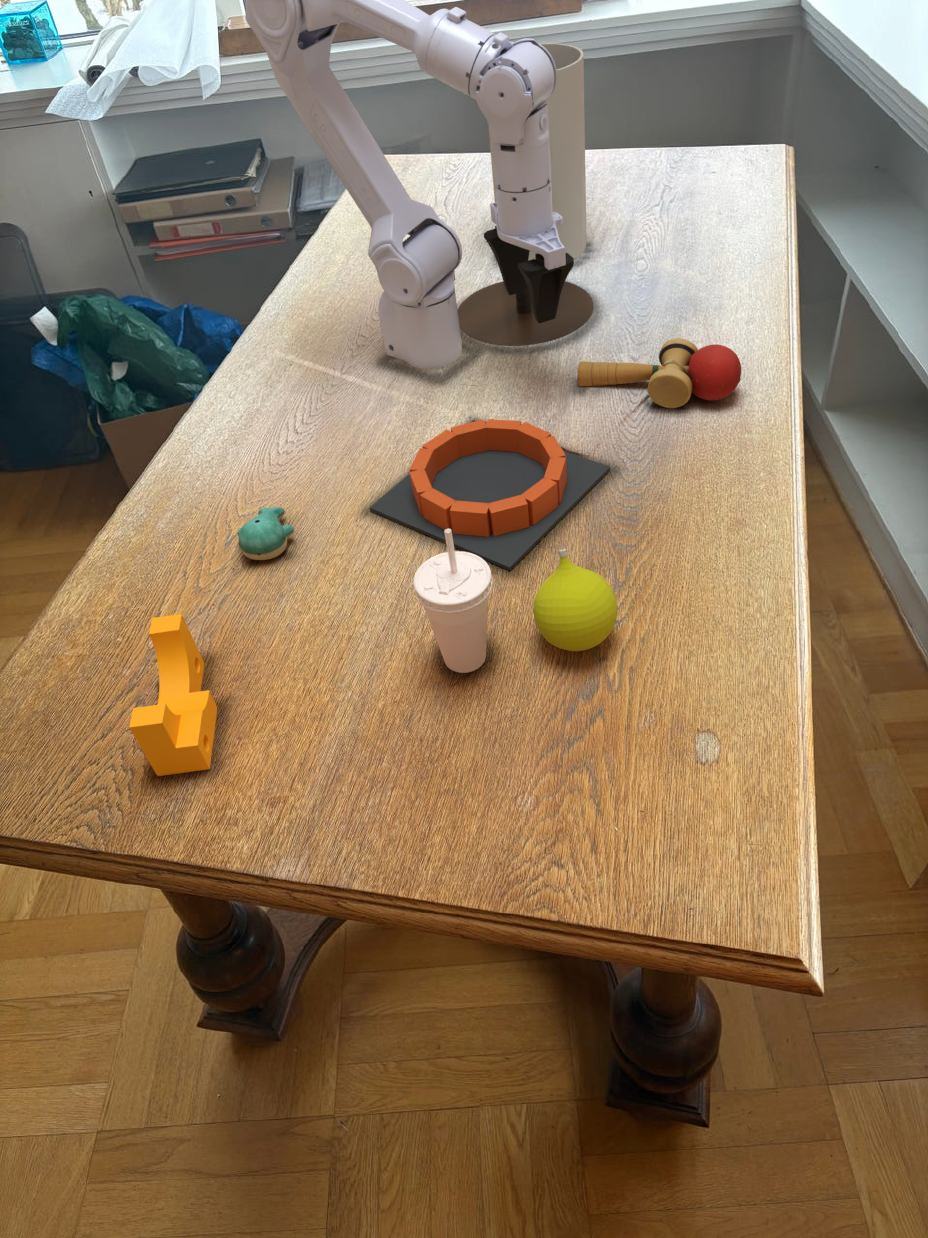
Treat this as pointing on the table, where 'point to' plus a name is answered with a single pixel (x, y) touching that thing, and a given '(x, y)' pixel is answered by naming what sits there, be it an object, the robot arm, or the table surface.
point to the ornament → (575, 607)
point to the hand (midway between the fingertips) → (531, 305)
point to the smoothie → (456, 604)
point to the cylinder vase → (566, 147)
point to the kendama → (673, 373)
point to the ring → (499, 513)
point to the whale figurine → (264, 535)
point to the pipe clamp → (176, 704)
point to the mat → (492, 499)
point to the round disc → (521, 316)
